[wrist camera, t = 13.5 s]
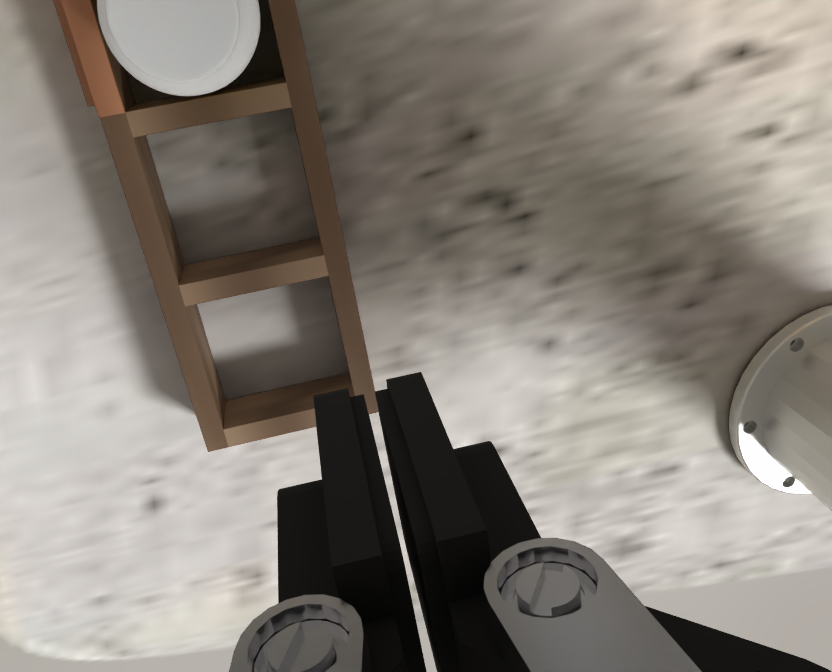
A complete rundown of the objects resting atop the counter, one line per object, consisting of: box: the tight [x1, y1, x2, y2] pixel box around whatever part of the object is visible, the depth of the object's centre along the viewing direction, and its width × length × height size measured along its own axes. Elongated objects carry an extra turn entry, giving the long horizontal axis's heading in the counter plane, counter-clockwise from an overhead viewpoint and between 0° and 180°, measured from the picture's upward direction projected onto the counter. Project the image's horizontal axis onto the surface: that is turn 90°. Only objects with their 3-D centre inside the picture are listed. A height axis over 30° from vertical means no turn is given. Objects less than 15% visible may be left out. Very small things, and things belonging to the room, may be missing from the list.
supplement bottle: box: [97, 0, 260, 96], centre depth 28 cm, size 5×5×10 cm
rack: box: [53, 0, 379, 452], centre depth 34 cm, size 9×24×3 cm, turn 9°
